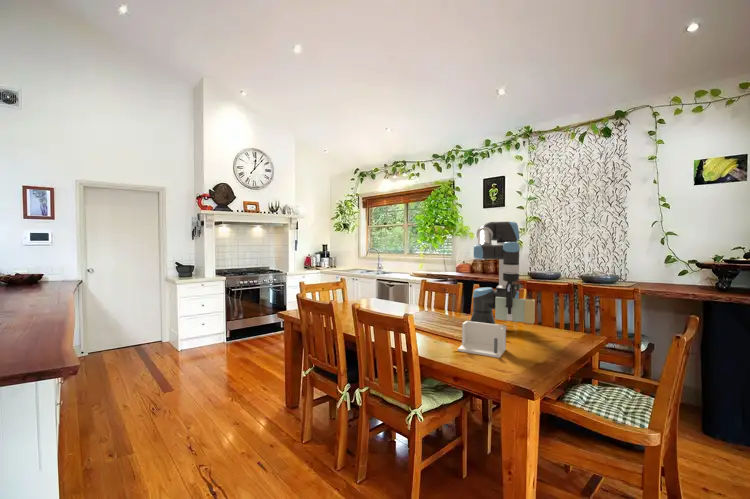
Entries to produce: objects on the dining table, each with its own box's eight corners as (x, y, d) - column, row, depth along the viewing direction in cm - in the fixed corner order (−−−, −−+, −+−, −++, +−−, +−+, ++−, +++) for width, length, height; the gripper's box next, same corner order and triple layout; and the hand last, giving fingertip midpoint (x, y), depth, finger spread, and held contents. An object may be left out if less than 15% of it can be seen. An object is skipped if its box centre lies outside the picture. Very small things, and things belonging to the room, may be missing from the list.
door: (496, 317, 189) (497, 296, 189) (534, 321, 181) (534, 299, 180) (494, 319, 185) (495, 297, 185) (533, 323, 176) (533, 301, 176)
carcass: (466, 343, 193) (466, 320, 192) (505, 349, 183) (506, 325, 182) (457, 350, 181) (457, 326, 180) (499, 357, 171) (500, 332, 170)
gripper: (505, 270, 191) (505, 315, 193) (500, 274, 177) (499, 322, 179) (521, 271, 188) (520, 317, 189) (516, 275, 174) (515, 324, 175)
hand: (510, 319), depth 184 cm, fingers closed on door, 3 cm apart
